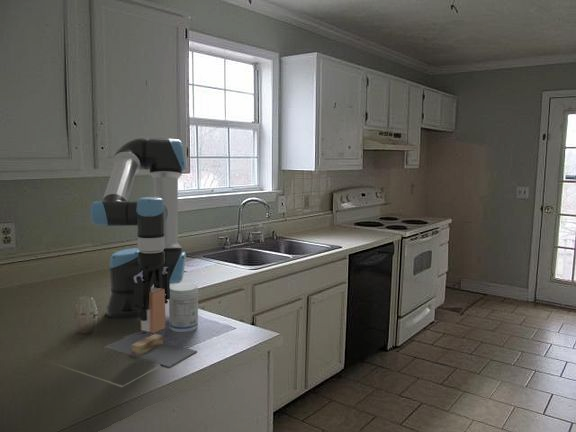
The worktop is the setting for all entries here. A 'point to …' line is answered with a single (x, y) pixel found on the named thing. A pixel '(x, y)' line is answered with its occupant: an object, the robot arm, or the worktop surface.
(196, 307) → the supplement tub
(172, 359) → the mat
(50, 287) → the worktop surface
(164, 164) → the robot arm
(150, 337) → the ledge
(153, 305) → the block
